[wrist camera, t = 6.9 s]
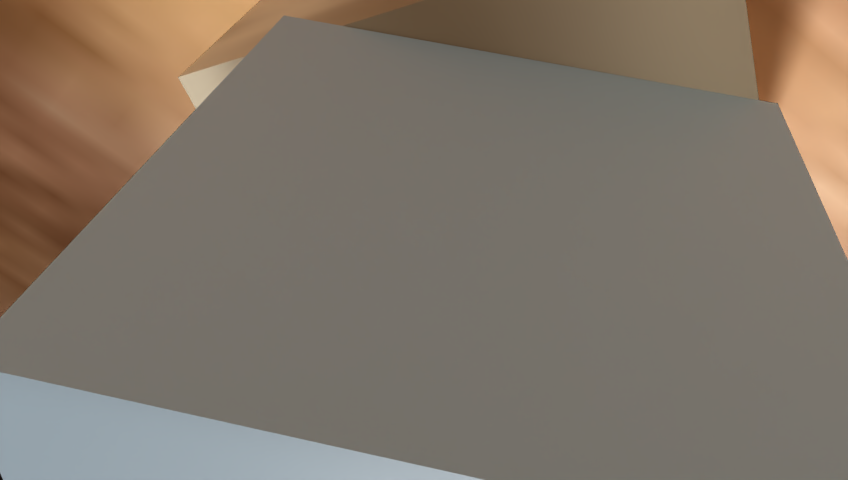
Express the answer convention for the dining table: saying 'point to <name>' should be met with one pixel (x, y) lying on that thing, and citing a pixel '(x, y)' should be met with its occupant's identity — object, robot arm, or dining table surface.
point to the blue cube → (440, 284)
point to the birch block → (530, 36)
